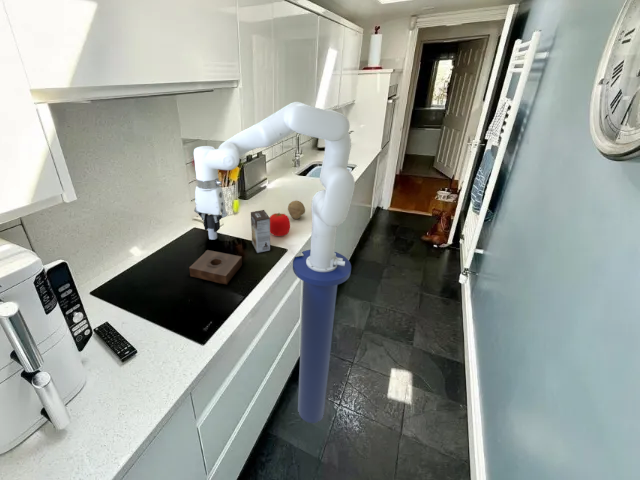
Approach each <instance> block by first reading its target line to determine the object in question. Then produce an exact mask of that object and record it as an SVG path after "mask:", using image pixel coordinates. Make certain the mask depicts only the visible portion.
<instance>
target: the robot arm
mask: <svg viewBox="0 0 640 480" xmlns="http://www.w3.org/2000/svg"><path fill="white" fill-rule="evenodd" d="M350 125H351V124H350V121H349V118H348V117H347V116H346V115H344V113H341V112H339V111H336V110H334V109H329V108H326V109H323V108H320V107H315V106H312V105H309V104H306V103H303V102H300V101H293V102H291V103H288V104H287V105H285V106H283V107H282V108H280V109H278V110H276V111H275V112H273V113H272V114H270V115H268V116H267V117H266V118H264V119H262V120H260V121H259V122H257V123H255V124H252V125H251V126H250V127H248V128H246V129H243V130H242V131H240V132H238V133H236V134H235V135H232V136H231V137H230V138H228V139H227V140H225V141H223V142H221V144H220V145H219V146H218V147H217V148H215V147H214V146H211V145H203V146H202V145H201V146H197V147H195V148H194V149H193V160H194V161H193V162H194V169H195V178H196V186H195V192H194V201H195V203H194V204H195V208H194V210H193V211H194V212H195V214H197V215H198V216H199V217H200V218H201V221H203V227H204V231H208V225H207V216H208V215H211V214H212V215H213V217H214V221H215V222H213V226H214V232H217V233H218V232H219V230H220V229H221V223H220V221H221V220H222V219H224V218H225V217H227V216H228V211H227V210H226V201H225V194H224V190H223V188H222V185H223V182H222V180H220V179H219V170H220V171H232V170H235V169H236V168H237V167H238V166H239V164H240V160H241V159H240V157H243V156H244V155H245V154H247V153H249V152H251V151H253V150H256V149H260V148H261V149H262V148H269V147H272V146H274V145H275V144H277V143H278V142H280V141H282V140H283V139H285V138H287V137H288V136H290V135H291V134H293V133H297V134H299V135H302V136H307V137H311V138H314V139H320V140H324V154H323V159H322V164H321V168H320V172H319V181H320V184H321V185H322V186H323V188H324V189H321V190H319V191H317V192H316V193H315V194H314V195H313V196H312V199H311V208H310V209H311V234H310V250H311V251H310V256H309V257H308V258H307V260H306V264H307V266H308V267H309V268H310V269H312V270H314V271H317V272H330V271H333V270H335V269H336V267H337V265H340V266H345V261H343V258H337V257H336V253H334V252H336V241H337V231H338V226H340V225H342V224H343V223H344V222H345V220H346V219H347V217H348V215H349V211H350V208H351V203H352V201H353V197H354V192H355V187H356V183H355V182H356V181H355V178H354V175H353V174H352V173H351V171H350V170H349V169H348V163H349V159H350V154H351V148H352V146H351V144H352V142H351V141H352V140H351V135H350V127H351V126H350Z"/></svg>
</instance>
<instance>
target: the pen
mask: <svg viewBox="0 0 640 480" xmlns="http://www.w3.org/2000/svg"><path fill="white" fill-rule="evenodd" d="M213 222H215V221H214V217H213V215H212V214H208V216H207V225H208V230H207V234H208V239H209V240H211V241H212V240H217V239H218V231H217V232H214V226H213Z"/></svg>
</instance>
